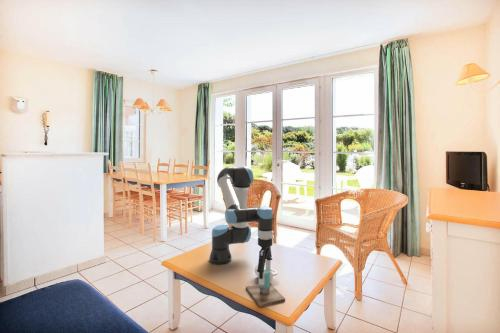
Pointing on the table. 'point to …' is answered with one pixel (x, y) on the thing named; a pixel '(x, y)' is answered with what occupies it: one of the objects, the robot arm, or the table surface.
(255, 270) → the mug
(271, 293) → the stud board
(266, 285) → the cap
